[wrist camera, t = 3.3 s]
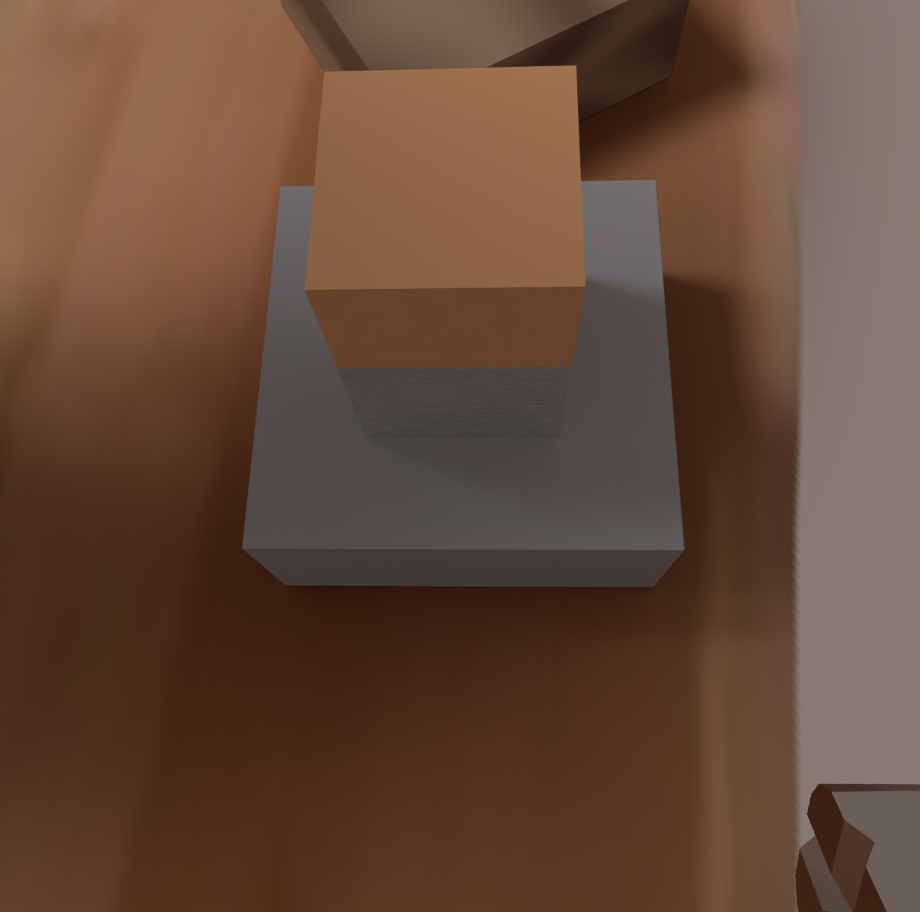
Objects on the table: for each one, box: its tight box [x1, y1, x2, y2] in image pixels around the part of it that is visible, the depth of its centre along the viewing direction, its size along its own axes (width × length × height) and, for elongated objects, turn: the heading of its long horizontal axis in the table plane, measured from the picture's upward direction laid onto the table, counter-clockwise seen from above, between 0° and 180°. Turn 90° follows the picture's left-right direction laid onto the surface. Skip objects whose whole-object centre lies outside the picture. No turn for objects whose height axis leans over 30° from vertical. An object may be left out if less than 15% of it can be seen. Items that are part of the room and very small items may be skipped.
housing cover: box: [305, 65, 585, 368], centre depth 19 cm, size 6×6×4 cm
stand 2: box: [242, 180, 684, 587], centre depth 27 cm, size 12×12×5 cm
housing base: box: [337, 367, 571, 438], centre depth 23 cm, size 6×6×4 cm
